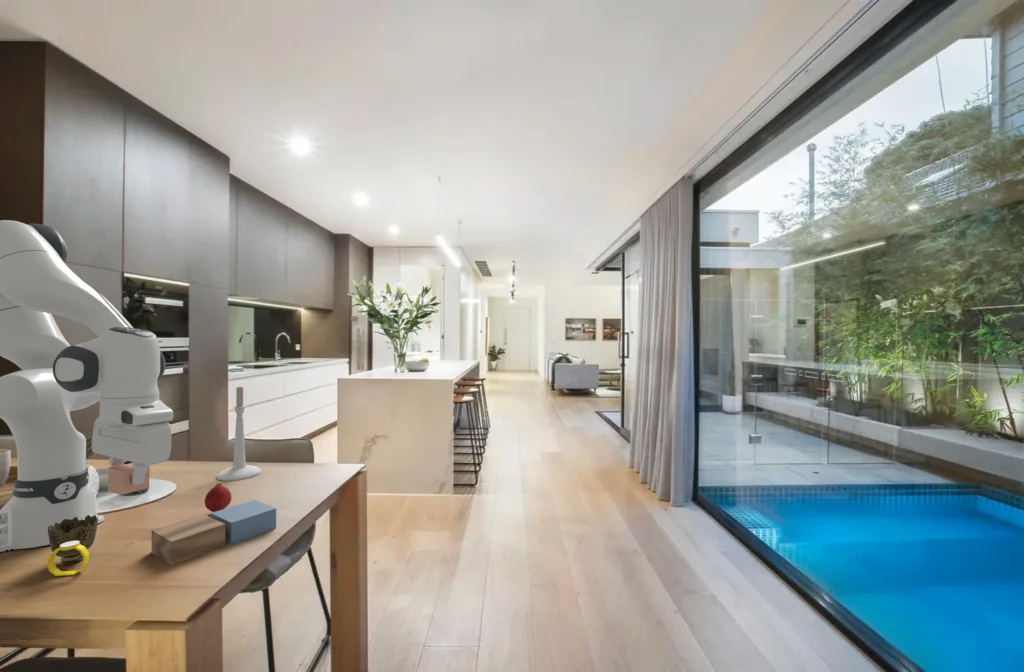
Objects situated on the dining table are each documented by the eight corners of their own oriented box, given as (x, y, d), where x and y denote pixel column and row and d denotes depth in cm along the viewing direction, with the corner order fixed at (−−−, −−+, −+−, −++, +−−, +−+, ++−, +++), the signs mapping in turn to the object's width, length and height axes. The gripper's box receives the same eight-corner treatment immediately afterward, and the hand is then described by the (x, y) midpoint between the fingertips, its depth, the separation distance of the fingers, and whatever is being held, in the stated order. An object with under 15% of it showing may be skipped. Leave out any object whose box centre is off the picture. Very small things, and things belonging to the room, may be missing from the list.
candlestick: (253, 479, 143) (253, 387, 144) (209, 482, 141) (209, 388, 141) (266, 468, 156) (266, 383, 156) (226, 470, 153) (226, 384, 153)
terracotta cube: (107, 491, 85) (108, 467, 85) (135, 484, 89) (136, 462, 89) (121, 495, 83) (121, 471, 83) (148, 487, 87) (149, 465, 87)
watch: (43, 580, 83) (43, 548, 83) (54, 573, 86) (54, 542, 86) (82, 576, 85) (82, 544, 85) (92, 568, 88) (92, 538, 88)
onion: (217, 518, 112) (218, 487, 112) (198, 516, 113) (199, 485, 113) (236, 510, 118) (236, 480, 118) (218, 508, 119) (218, 478, 119)
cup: (38, 573, 86) (38, 532, 86) (58, 556, 92) (59, 518, 93) (88, 565, 89) (88, 525, 89) (104, 549, 95) (104, 512, 96)
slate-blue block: (210, 534, 104) (210, 513, 104) (254, 519, 112) (254, 500, 112) (231, 545, 98) (231, 522, 98) (276, 529, 107) (276, 508, 107)
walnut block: (151, 553, 94) (151, 530, 94) (204, 536, 103) (204, 514, 103) (171, 566, 89) (171, 541, 89) (225, 546, 97) (225, 524, 97)
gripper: (81, 408, 88) (79, 478, 87) (140, 417, 79) (138, 494, 79) (120, 404, 93) (118, 469, 93) (179, 412, 85) (177, 484, 85)
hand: (128, 481), depth 86 cm, fingers closed on terracotta cube, 4 cm apart
